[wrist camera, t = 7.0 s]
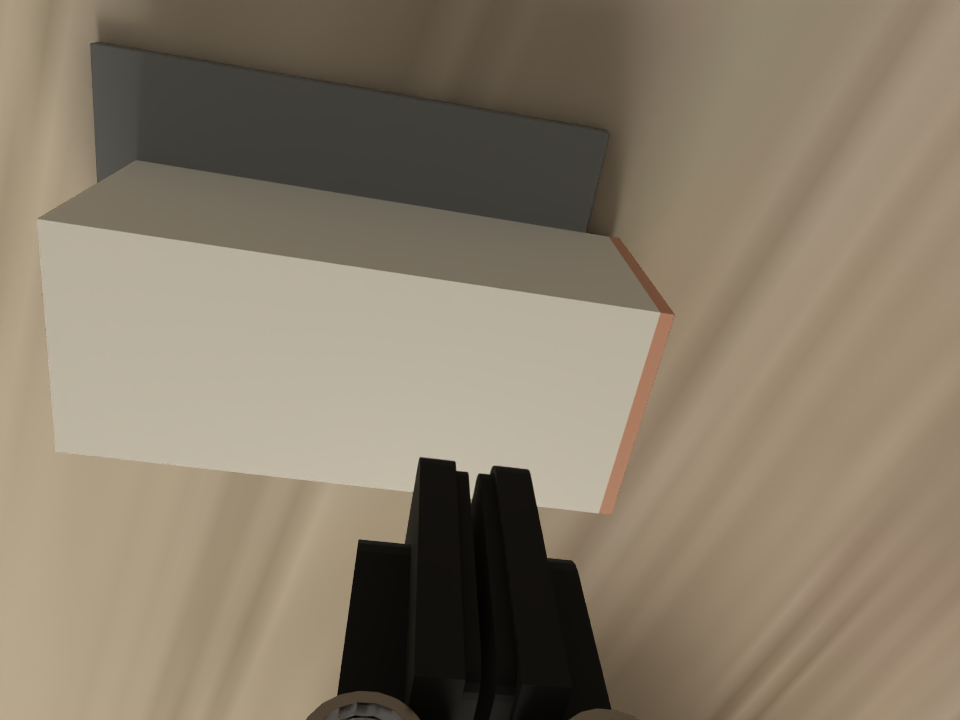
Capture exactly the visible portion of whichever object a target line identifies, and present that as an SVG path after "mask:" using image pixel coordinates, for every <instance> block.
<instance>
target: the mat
mask: <svg viewBox="0 0 960 720" xmlns="http://www.w3.org/2000/svg"><path fill="white" fill-rule="evenodd" d="M90 47H91V67H92V87H93V106H94V126H95V146H96V166H97V183H98V182H100V181H102V180H103V179H105V178H107V177H108V176H110V175H112V174H114V173H115V172H117V171H119V170H120V169H122V168H124V167H125V166H127V165H129V164H130V163H132V162H134V161H135V160H139V161H145V162H151V163H157V164H163V165H169V166H176V167H182V168H188V169H194V170H200V171H206V172H213V173H219V174H225V175H231V176H237V177H243V178H250V179H256V180H262V181H268V182H274V183H280V184H287V185H293V186H299V187H305V188H311V189H317V190H324V191H330V192H336V193H342V194H348V195H354V196H361V197H367V198H373V199H379V200H385V201H391V202H398V203H404V204H410V205H416V206H422V207H428V208H435V209H441V210H447V211H453V212H459V213H465V214H472V215H478V216H484V217H490V218H496V219H502V220H509V221H515V222H521V223H527V224H533V225H539V226H546V227H552V228H558V229H564V230H570V231H576V232H583V233H586V230H587V226H588V221H589V217H590V213H591V209H592V205H593V201H594V197H595V192H596V188H597V184H598V180H599V176H600V172H601V168H602V163H603V159H604V155H605V151H606V147H607V143H608V139H609V134H610V133H609V132H608V131H607V130H602V129H597V128H591V127H585V126H579V125H574V124H568V123H562V122H556V121H550V120H545V119H539V118H533V117H527V116H522V115H516V114H510V113H504V112H498V111H493V110H487V109H481V108H475V107H470V106H464V105H458V104H452V103H446V102H441V101H435V100H429V99H423V98H417V97H412V96H406V95H400V94H394V93H389V92H383V91H377V90H371V89H365V88H360V87H354V86H348V85H342V84H337V83H331V82H325V81H319V80H313V79H308V78H302V77H296V76H290V75H285V74H279V73H273V72H267V71H261V70H256V69H250V68H244V67H238V66H233V65H227V64H221V63H215V62H209V61H204V60H198V59H192V58H186V57H181V56H175V55H169V54H163V53H157V52H152V51H146V50H140V49H134V48H129V47H123V46H117V45H111V44H105V43H100V42H95V43H90Z"/></svg>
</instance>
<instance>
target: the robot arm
mask: <svg viewBox="0 0 960 720" xmlns="http://www.w3.org/2000/svg"><path fill="white" fill-rule="evenodd" d="M306 720H639V719H637V718H635V717H634V716H631V715H628V714H625V713H622V712H620V711H617V710H611V706H610V702H609V698H608V694H607V689H606V685H605V681H604V677H603V673H602V669H601V665H600V661H599V656H598V652H597V648H596V644H595V640H594V636H593V632H592V628H591V624H590V619H589V615H588V611H587V607H586V603H585V599H584V595H583V591H582V586H581V582H580V578H579V574H578V571H577V568H576V565H575V563H574V562H573V561H571V560H561V559H551V558H547V555H546V550H545V545H544V540H543V535H542V530H541V525H540V519H539V514H538V509H537V504H536V499H535V494H534V489H533V484H532V478H531V474H530V471H529V470H528V469H522V468H513V467H504V466H495V465H494V466H493V467H492V469H491V471H490V474H481V473H479V474H478V476H477V479H476V483H475V488H474V493H473V498H472V503H471V500H470V485H469V473H468V472H463V471H456V462H455V461H451V460H443V459H434V458H425V457H420V458H419V462H418V467H417V473H416V479H415V485H414V491H413V497H412V503H411V509H410V516H409V522H408V528H407V534H406V540H405V544H399V543H389V542H379V541H369V540H359V541H358V548H357V555H356V562H355V570H354V577H353V584H352V592H351V599H350V606H349V614H348V621H347V628H346V635H345V643H344V650H343V657H342V665H341V672H340V679H339V687H338V694H337V696H336V697H334V698H332V699H330V700H328V701H326V702H324V703H322V704H321V705H320V706H319V707H318V708H317V709H316V710H315V711H314V712H312V713H311V714H310V715H309V716H308V717H307V719H306Z"/></svg>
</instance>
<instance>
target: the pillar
mask: <svg viewBox="0 0 960 720" xmlns="http://www.w3.org/2000/svg"><path fill="white" fill-rule="evenodd" d="M37 225H38V238H39V250H40V263H41V275H42V288H43V301H44V313H45V326H46V338H47V351H48V363H49V376H50V388H51V401H52V413H53V426H54V438H55V451H56V452H63V453H72V454H81V455H89V456H98V457H107V458H116V459H125V460H133V461H142V462H151V463H160V464H169V465H178V466H186V467H195V468H204V469H213V470H222V471H230V472H239V473H248V474H257V475H266V476H274V477H283V478H292V479H301V480H310V481H318V482H327V483H336V484H345V485H354V486H362V487H371V488H380V489H389V490H398V491H407V492H413V491H414V485H415V479H416V473H417V467H418V462H419V458H420V457H425V458H434V459H443V460H451V461H455V462H456V471H463V472H468V473H469V485H470V499H472V498H473V493H474V488H475V483H476V479H477V476H478V474H479V473H481V474H490V471H491V469H492V467H493V466H494V465H495V466H504V467H513V468H522V469H528V470H529V471H530V474H531V478H532V484H533V489H534V494H535V499H536V504H537V506H539V507H547V508H556V509H565V510H574V511H583V512H591V513H600V514H609V515H612V511H613V508H614V505H615V502H616V499H617V496H618V493H619V489H620V486H621V483H622V480H623V477H624V474H625V471H626V467H627V464H628V461H629V458H630V455H631V452H632V449H633V445H634V442H635V439H636V436H637V433H638V430H639V426H640V423H641V420H642V417H643V414H644V411H645V408H646V404H647V401H648V398H649V395H650V392H651V389H652V386H653V382H654V379H655V376H656V373H657V370H658V367H659V364H660V360H661V357H662V354H663V351H664V348H665V345H666V342H667V338H668V335H669V332H670V329H671V326H672V323H673V320H674V316H675V314H674V313H673V311H672V310H671V309H670V307H669V306H668V304H667V303H666V302H665V300H664V299H663V298H662V296H661V295H660V293H659V292H658V291H657V289H656V288H655V286H654V285H653V284H652V282H651V281H650V280H649V278H648V277H647V275H646V274H645V273H644V271H643V270H642V268H641V267H640V266H639V264H638V263H637V262H636V260H635V259H634V257H633V256H632V255H631V253H630V252H629V251H628V249H627V248H626V246H625V245H624V244H623V242H622V241H621V239H620V238H614V237H607V236H601V235H595V234H589V233H583V232H576V231H570V230H564V229H558V228H552V227H546V226H539V225H533V224H527V223H521V222H515V221H509V220H502V219H496V218H490V217H484V216H478V215H472V214H465V213H459V212H453V211H447V210H441V209H435V208H428V207H422V206H416V205H410V204H404V203H398V202H391V201H385V200H379V199H373V198H367V197H361V196H354V195H348V194H342V193H336V192H330V191H324V190H317V189H311V188H305V187H299V186H293V185H287V184H280V183H274V182H268V181H262V180H256V179H250V178H243V177H237V176H231V175H225V174H219V173H213V172H206V171H200V170H194V169H188V168H182V167H176V166H169V165H163V164H157V163H151V162H145V161H139V160H135V161H134V162H132V163H130V164H129V165H127V166H125V167H124V168H122V169H120V170H119V171H117V172H115V173H114V174H112V175H110V176H108V177H107V178H105V179H103V180H102V181H100V182H98V183H97V184H95V185H93V186H92V187H90V188H88V189H87V190H85V191H83V192H82V193H80V194H78V195H76V196H75V197H73V198H71V199H70V200H68V201H66V202H65V203H63V204H61V205H60V206H58V207H56V208H55V209H53V210H51V211H50V212H48V213H46V214H45V215H43V216H41V217H39V218H38V219H37Z"/></svg>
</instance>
